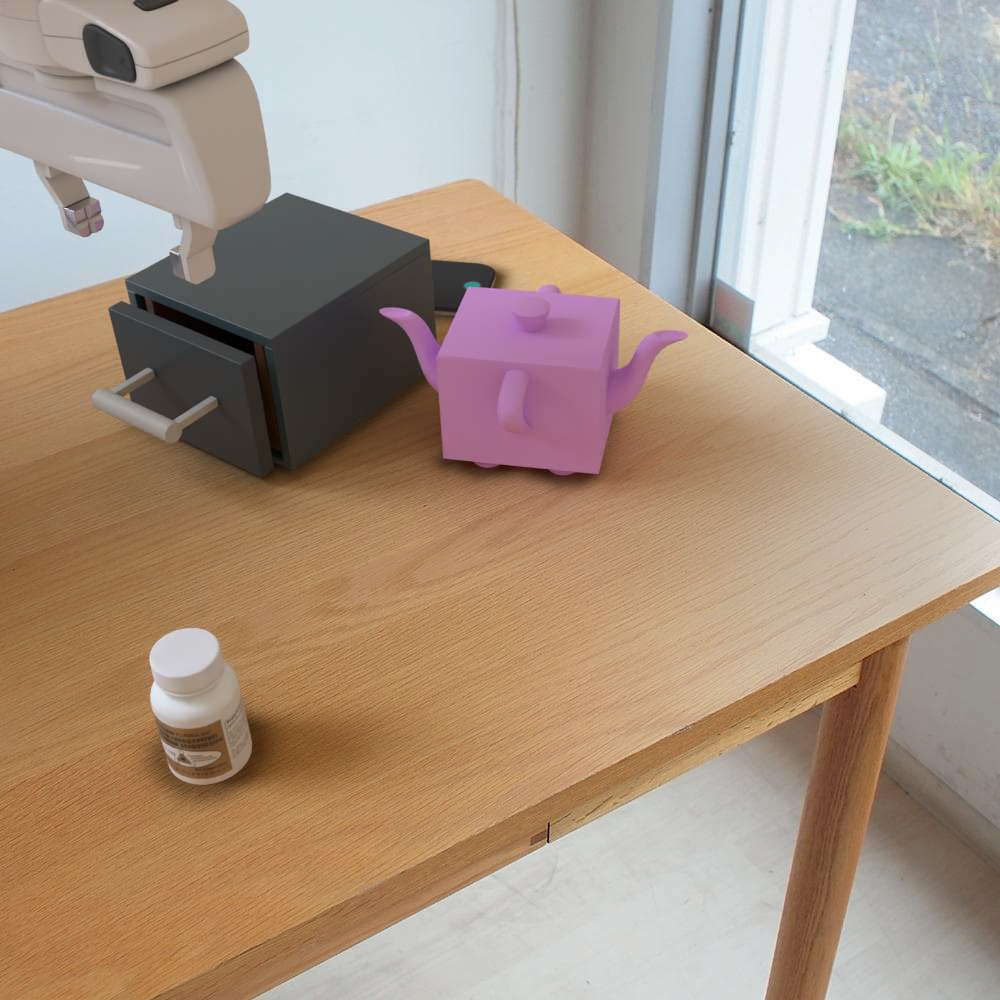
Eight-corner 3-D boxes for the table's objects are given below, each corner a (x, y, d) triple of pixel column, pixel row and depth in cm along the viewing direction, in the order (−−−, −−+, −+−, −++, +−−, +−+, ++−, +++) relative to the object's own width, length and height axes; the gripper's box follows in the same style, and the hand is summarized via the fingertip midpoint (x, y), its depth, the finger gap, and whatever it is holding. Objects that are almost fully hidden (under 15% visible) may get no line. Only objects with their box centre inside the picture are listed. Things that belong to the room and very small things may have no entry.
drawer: (209, 515, 84) (184, 400, 78) (81, 450, 89) (49, 339, 84) (403, 376, 95) (393, 267, 90) (279, 326, 101) (262, 222, 96)
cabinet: (293, 475, 88) (271, 339, 81) (155, 410, 95) (124, 279, 88) (439, 368, 98) (429, 239, 91) (304, 316, 104) (286, 191, 98)
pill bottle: (154, 781, 68) (123, 676, 63) (189, 718, 71) (162, 614, 67) (234, 796, 67) (208, 690, 62) (266, 731, 70) (243, 627, 66)
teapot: (576, 365, 97) (577, 231, 91) (682, 458, 88) (692, 317, 81) (389, 429, 92) (375, 292, 85) (482, 536, 83) (474, 391, 76)
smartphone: (479, 311, 102) (294, 296, 105) (480, 321, 102) (296, 306, 105) (499, 263, 108) (324, 251, 110) (500, 273, 108) (325, 260, 111)
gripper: (-93, -16, 69) (-20, 226, 77) (170, 63, 59) (220, 331, 67) (9, -48, 73) (68, 186, 81) (271, 22, 62) (307, 281, 71)
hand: (138, 253), depth 74 cm, fingers open, 8 cm apart
